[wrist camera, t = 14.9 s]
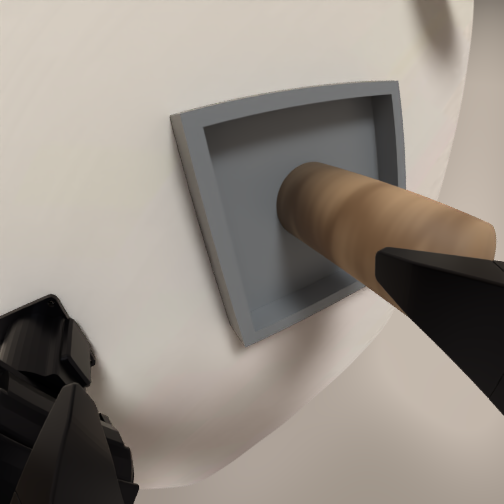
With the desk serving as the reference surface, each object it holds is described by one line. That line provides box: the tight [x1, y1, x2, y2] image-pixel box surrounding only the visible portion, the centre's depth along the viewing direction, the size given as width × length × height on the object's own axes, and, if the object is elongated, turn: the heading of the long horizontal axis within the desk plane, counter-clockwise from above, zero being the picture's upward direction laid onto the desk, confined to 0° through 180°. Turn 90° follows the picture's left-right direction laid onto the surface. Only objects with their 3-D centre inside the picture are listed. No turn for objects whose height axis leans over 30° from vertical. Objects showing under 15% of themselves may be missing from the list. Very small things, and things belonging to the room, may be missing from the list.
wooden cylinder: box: [276, 162, 496, 316], centre depth 17 cm, size 6×6×13 cm
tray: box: [170, 81, 406, 347], centre depth 22 cm, size 16×16×3 cm
